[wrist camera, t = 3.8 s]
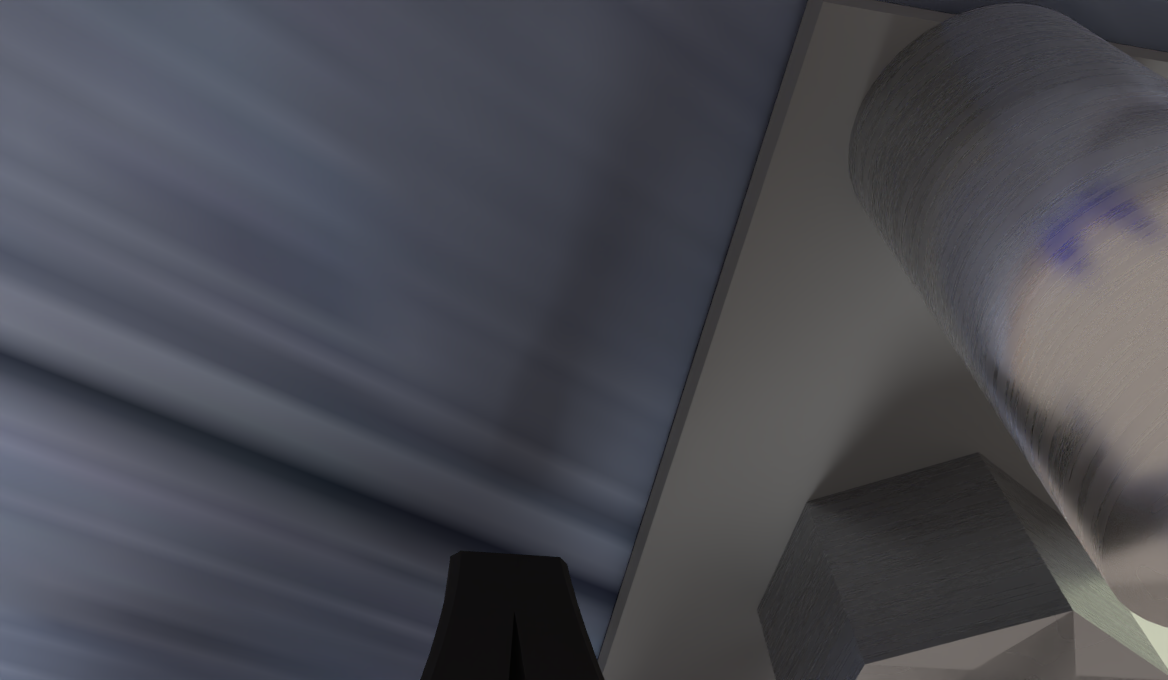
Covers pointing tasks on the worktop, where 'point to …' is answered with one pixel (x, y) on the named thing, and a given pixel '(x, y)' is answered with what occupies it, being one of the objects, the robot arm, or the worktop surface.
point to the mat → (799, 374)
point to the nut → (945, 587)
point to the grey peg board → (1041, 255)
